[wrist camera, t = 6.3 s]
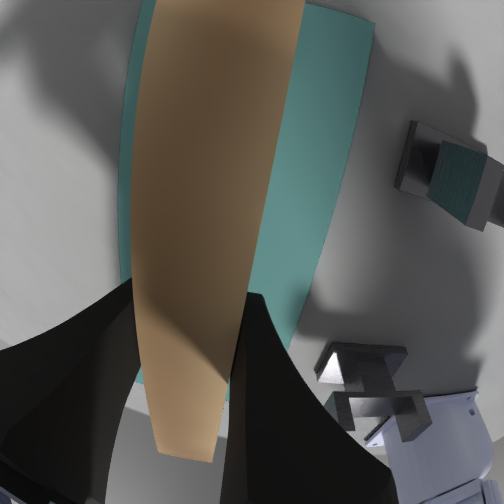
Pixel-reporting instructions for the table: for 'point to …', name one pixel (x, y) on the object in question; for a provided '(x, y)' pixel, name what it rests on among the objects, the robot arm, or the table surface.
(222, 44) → the oak bar
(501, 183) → the hook standards
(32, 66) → the table surface
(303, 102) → the teal mat
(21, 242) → the table surface
